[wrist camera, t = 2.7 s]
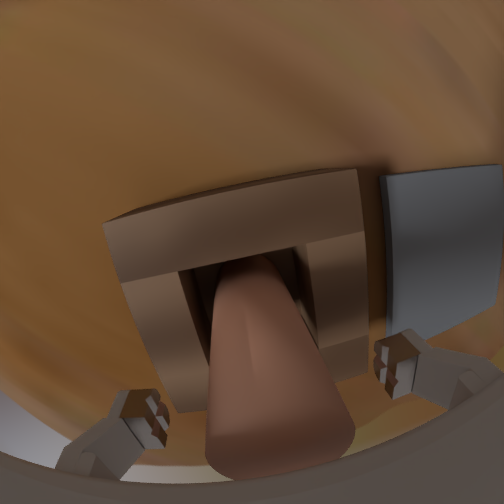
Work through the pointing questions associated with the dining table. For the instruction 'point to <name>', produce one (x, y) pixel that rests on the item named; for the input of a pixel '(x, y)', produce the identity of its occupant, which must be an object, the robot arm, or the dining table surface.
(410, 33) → the dining table surface
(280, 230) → the holder block
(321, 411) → the dowel pin
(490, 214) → the slate mat
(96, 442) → the robot arm
